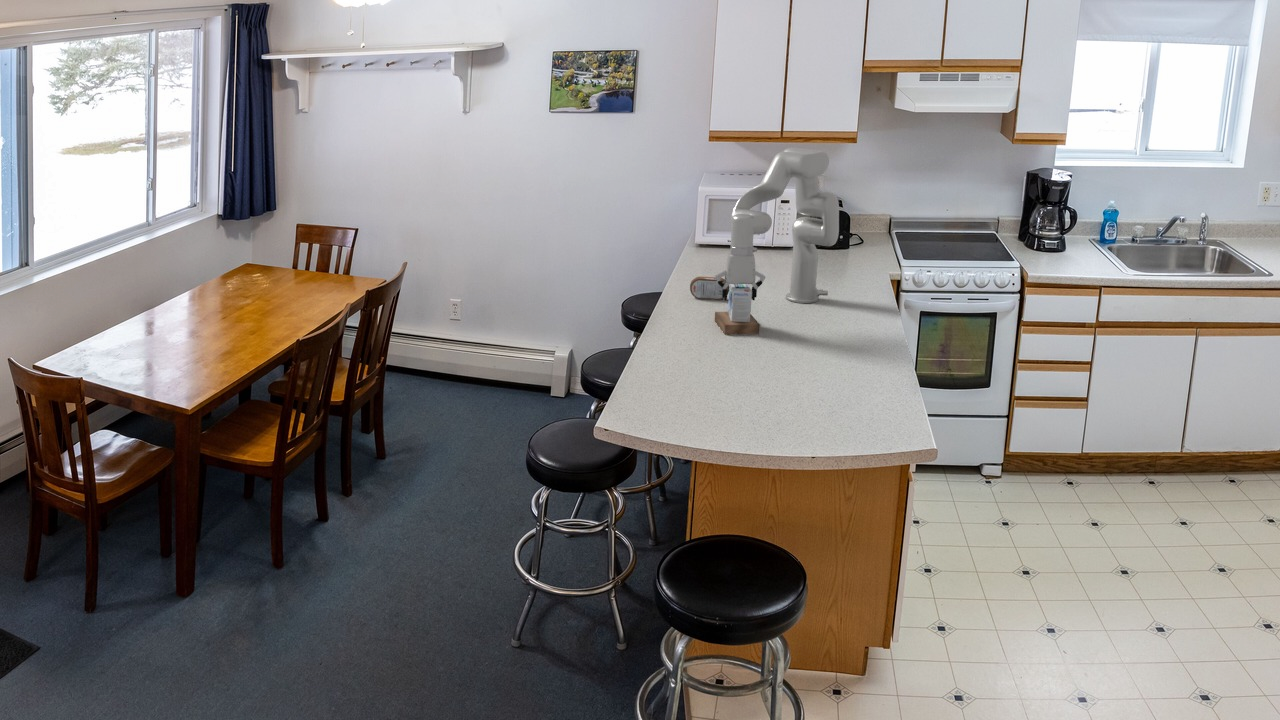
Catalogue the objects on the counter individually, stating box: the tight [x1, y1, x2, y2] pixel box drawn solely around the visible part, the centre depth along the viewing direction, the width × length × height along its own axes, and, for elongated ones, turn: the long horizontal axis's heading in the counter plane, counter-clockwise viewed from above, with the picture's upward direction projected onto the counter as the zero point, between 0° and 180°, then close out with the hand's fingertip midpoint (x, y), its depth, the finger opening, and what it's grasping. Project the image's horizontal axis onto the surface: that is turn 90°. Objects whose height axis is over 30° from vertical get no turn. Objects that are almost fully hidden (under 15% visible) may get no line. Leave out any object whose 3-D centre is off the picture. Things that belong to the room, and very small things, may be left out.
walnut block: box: [714, 311, 761, 336], centre depth 359 cm, size 12×16×4 cm
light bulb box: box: [727, 284, 753, 322], centre depth 357 cm, size 11×7×11 cm, turn 3°
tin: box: [689, 276, 730, 301], centre depth 393 cm, size 15×3×8 cm, turn 84°
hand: (739, 299), depth 357 cm, fingers open, 9 cm apart
